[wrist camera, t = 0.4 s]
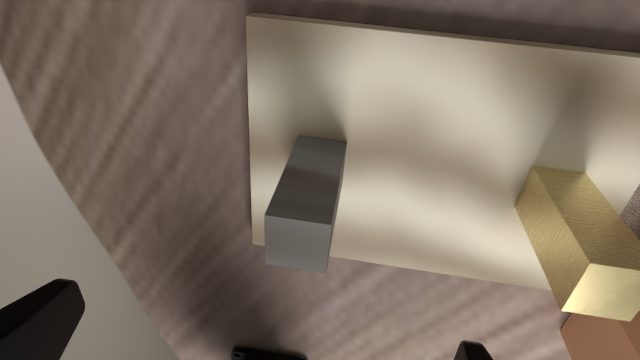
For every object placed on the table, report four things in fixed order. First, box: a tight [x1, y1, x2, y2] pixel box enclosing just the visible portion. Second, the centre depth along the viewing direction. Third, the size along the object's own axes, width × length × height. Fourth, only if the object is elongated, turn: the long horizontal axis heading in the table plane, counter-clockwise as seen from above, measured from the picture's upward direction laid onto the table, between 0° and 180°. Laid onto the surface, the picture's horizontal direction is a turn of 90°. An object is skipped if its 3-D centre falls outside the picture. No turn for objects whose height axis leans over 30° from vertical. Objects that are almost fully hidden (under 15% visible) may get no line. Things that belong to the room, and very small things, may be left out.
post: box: [514, 166, 640, 322], centre depth 18 cm, size 3×3×7 cm
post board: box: [246, 12, 640, 290], centre depth 19 cm, size 14×20×8 cm
